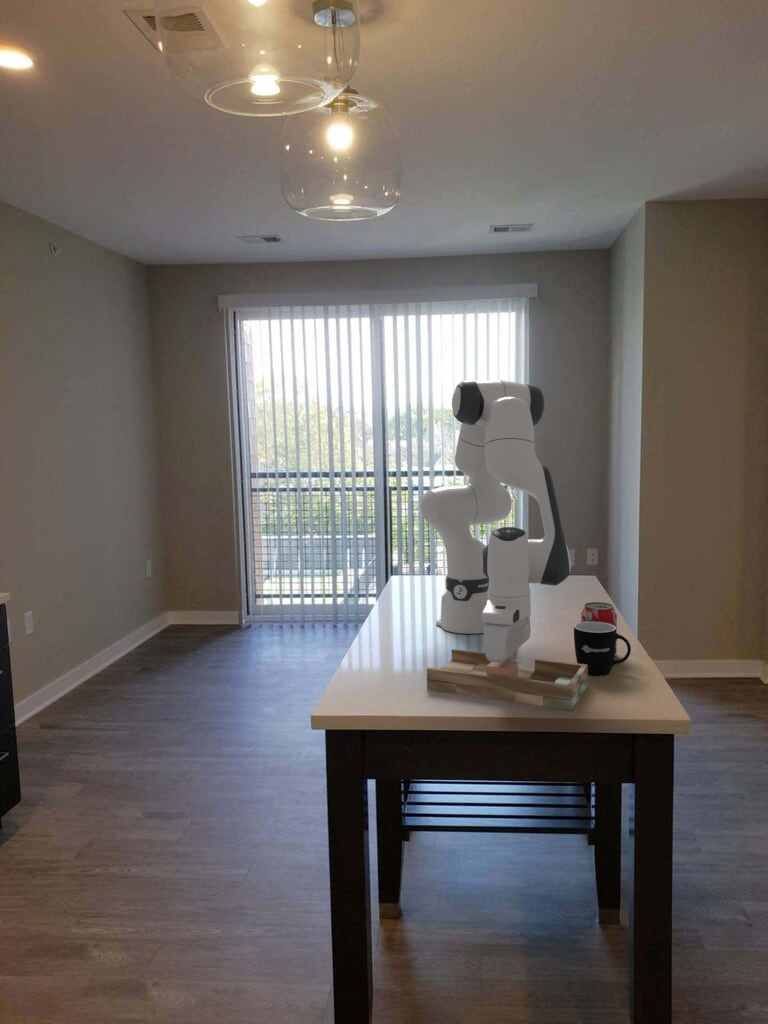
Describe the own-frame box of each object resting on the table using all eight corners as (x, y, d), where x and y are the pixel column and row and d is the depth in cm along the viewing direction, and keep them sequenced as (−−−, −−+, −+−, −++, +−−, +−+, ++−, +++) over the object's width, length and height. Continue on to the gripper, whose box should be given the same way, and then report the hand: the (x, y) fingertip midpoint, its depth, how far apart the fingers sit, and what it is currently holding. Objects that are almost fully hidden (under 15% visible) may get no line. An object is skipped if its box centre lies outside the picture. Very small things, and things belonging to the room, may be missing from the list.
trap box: (453, 668, 170) (453, 649, 170) (587, 685, 157) (587, 664, 156) (427, 689, 157) (426, 668, 156) (571, 710, 143) (571, 687, 143)
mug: (574, 677, 162) (574, 631, 161) (573, 664, 171) (573, 620, 170) (632, 680, 159) (632, 633, 158) (628, 666, 168) (629, 622, 167)
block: (494, 677, 157) (494, 659, 156) (517, 680, 155) (517, 661, 154) (486, 685, 152) (486, 666, 152) (510, 688, 150) (510, 669, 150)
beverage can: (616, 661, 172) (617, 610, 171) (580, 659, 174) (581, 608, 173) (616, 651, 180) (616, 602, 178) (581, 649, 182) (581, 600, 181)
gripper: (509, 594, 166) (510, 655, 168) (478, 616, 148) (479, 684, 150) (537, 597, 164) (537, 658, 165) (509, 619, 145) (509, 688, 147)
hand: (509, 671), depth 157 cm, fingers closed
